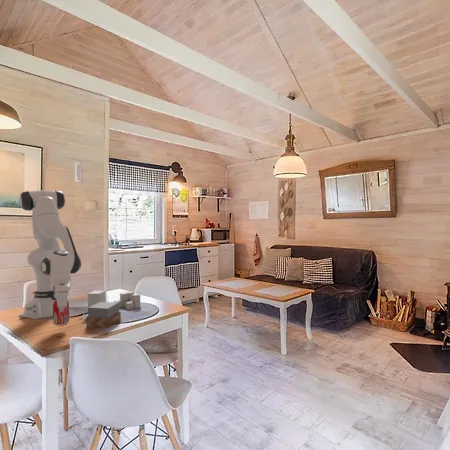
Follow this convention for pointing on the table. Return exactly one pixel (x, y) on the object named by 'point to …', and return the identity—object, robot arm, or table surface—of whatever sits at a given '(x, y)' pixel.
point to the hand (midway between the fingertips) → (60, 312)
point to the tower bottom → (103, 321)
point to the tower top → (103, 310)
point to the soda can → (60, 314)
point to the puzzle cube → (129, 300)
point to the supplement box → (96, 297)
